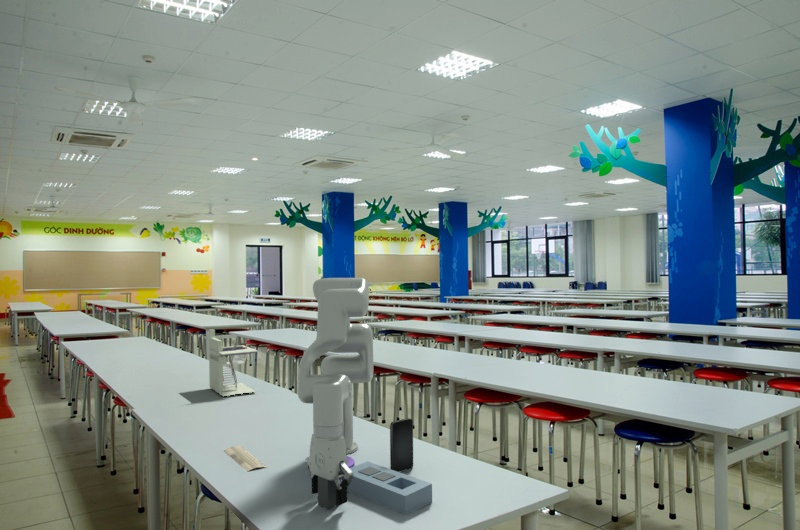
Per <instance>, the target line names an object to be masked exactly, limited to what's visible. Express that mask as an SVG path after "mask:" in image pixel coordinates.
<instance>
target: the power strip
mask: <svg viewBox="0 0 800 530" xmlns="http://www.w3.org/2000/svg"><path fill="white" fill-rule="evenodd" d="M349 469H350V470H351V471H352V472H353V477H352V480H351V483H350V484H349V486H348V487H347V492H350V493H351V494H355V495H357V496H359V497H362V498H364V499H366V500H369V501H371V502H373V503H376V504H378V505H381V506H383V507H386V508H388V509H391V510H393V511H395V512H397V513H400V514H403V515H404V516H405V515H409V514H410V513H412V512H415V511H416V510H419V509H420V508H422V507H425V506H427V505H429V504H431V503H433V483H431V482H429V481H426V480H424V479H423V480H422V479H419V478H416V477H414V476H411V475H408V474H405V473H403V472H397V471H394V470H391V469H390V468H388V467H386V466H385V467H384V466H382V465H379V464H377V463H373V462H371V461H365V462H363V463H360V464H357V465H355V466H354V467H351V468H349ZM341 482H342V479H341V480H340V483H341Z"/></svg>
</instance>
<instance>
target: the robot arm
mask: <svg viewBox="0 0 800 530" xmlns="http://www.w3.org/2000/svg"><path fill="white" fill-rule="evenodd" d="M312 291H313V292H312V293H313V295H314V297H315V299H316V301H317V321H316V322H317V324H316V338H315V340H314V341H313V342H312V343H311V344H310V345H309V346H308V347H307V349H306V350H305V351H304V353H303V355H302V357H301V359H300V362H299V365H298V375H297V376H298V377H297V396H298V400H300V401H301V403H303V404H309V405H310V404H312V409H313V410H312V414H313V415H312V417H313V418H312V419H313V420H312V421H313V424H312V425H313V434H311V439H310V444H309V445H310V446H309V456H307V457H306V458H305V459H306V463H307V469H308V471H309V473H310V474H309V477H310V478H311V494H312V495H316V494H318V476H319V477H322V478H324V479H326V480H329V481H333V480H334V481H335V483H336V485H337V488H338V489H336V505H338V506H337V507H339V506H341V505H343V504H345V503H348V491H347V487H348V486H349V484H350V483H351V480H352V477H353V472H352V471H351V470H350V469H349V467H348V466H347V456H348V455H350V454H352V453H355V452H356V451H357V450H358V449H359V448H358V447H359V444H358V443H357V442H355V441H354V423H353V422H354V418H353V417H354V412H353V411H354V409H353V408H354V407H353V406H354V405H353V403H354V402H353V400H354V398H353V394H352V392H353V384H365V383H366V384H367V383H369V382H371V381H372V380H373V377H374V340H373V339H374V338H373V330H372V329H371V326H370V325H368V324H366V323H351V321H350V318H363V317H365V316H366V315H367V313H368V310H369V304H370V303H369V302H370V298H369V297H370V296H369V295H370V288H369V283H368V281H367V279H365V278H363V277H327V278H325V277H324V278H323V277H322V278H319V279H316V280H315V281H314V282H313V284H312ZM328 353H336V354H331V355H327V356H325V357H324V358H323V359H322V361H321V363H320V373H321V374H310V370H311V366H312V364H313V363H314V362H315V361H316V360H318V359H319V357H321V356H324V355H325V354H328ZM348 353H349V354H348ZM351 353H353V354H351ZM356 353H358V354H356ZM340 478H341V479H342V482H341V480H339V479H340Z"/></svg>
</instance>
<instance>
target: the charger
mask: <svg viewBox="0 0 800 530" xmlns="http://www.w3.org/2000/svg"><path fill="white" fill-rule="evenodd" d="M339 480H340V479H339ZM340 481H341V480H340ZM336 489H338V488H337V485H336V483H335V481H334V480H333V481H329V480H326V479H324V478H322V477H319V476H318V493H317V505H318V506H319V507H321V508H323V509H326V510H328V511H329V510H331V509H334V508H336V507H339V506H338V505H336Z"/></svg>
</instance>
